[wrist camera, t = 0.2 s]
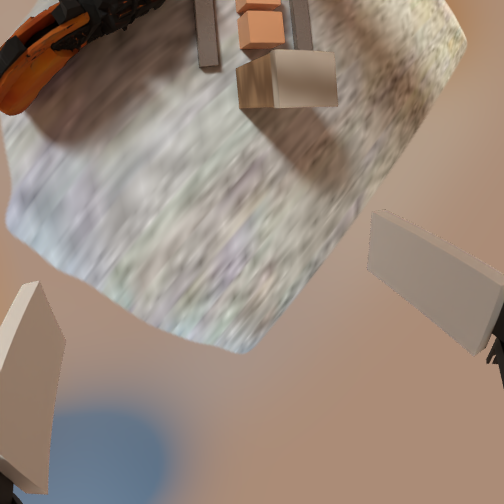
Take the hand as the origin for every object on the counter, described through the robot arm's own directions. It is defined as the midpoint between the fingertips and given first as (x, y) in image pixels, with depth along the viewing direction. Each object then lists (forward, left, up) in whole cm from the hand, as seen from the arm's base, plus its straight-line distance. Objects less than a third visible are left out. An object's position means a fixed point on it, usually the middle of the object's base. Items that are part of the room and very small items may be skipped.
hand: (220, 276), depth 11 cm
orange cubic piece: (-15, +12, -27) cm, 33 cm away
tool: (-18, -7, -28) cm, 34 cm away
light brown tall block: (-8, +12, -27) cm, 31 cm away
